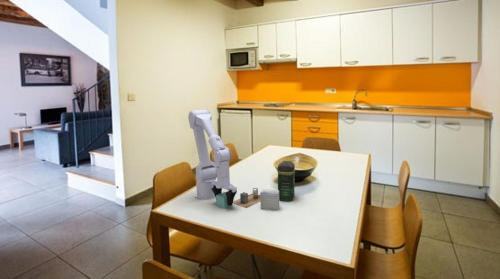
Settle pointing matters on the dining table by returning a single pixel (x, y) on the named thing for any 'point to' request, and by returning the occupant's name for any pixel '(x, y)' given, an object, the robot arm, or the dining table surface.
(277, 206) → the medicine box
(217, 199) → the teal foam brick
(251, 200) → the stand plate
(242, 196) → the square post
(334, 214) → the dining table surface
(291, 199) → the coffee jar
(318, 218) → the dining table surface
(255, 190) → the round post
